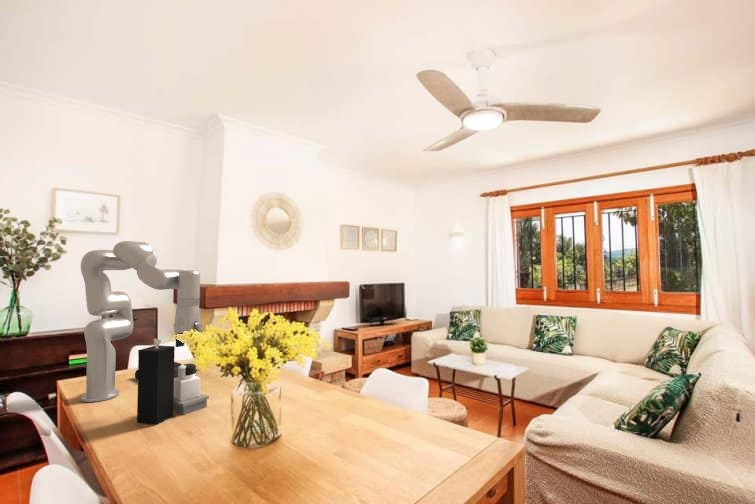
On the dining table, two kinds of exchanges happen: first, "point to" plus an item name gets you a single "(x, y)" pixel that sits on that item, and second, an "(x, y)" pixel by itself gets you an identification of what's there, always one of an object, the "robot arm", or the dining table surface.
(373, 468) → the dining table surface
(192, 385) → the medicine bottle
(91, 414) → the dining table surface
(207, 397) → the podium
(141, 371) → the tall black pillar
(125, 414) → the dining table surface
